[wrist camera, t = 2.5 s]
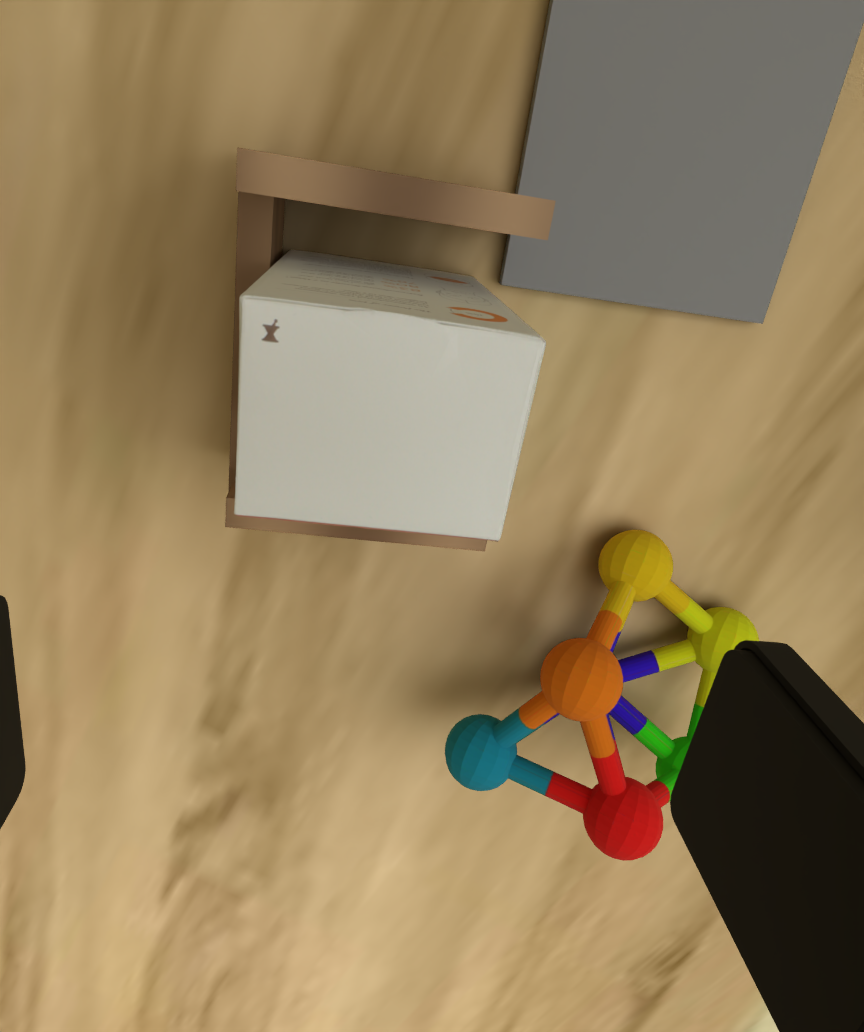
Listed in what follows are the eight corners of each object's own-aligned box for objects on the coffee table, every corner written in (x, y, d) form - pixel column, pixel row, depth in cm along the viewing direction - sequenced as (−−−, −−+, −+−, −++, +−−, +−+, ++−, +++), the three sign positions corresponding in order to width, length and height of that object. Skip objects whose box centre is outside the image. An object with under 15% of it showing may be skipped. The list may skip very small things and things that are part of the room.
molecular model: (527, 493, 38) (417, 752, 37) (626, 490, 29) (484, 836, 28) (734, 598, 43) (642, 835, 41) (876, 625, 34) (765, 931, 32)
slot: (514, 197, 29) (555, 200, 23) (463, 483, 34) (484, 551, 28) (256, 154, 28) (223, 144, 21) (243, 460, 33) (214, 525, 26)
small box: (277, 395, 32) (225, 519, 20) (287, 246, 29) (233, 287, 17) (454, 417, 33) (504, 547, 21) (479, 275, 30) (550, 332, 18)
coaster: (860, 5, 27) (870, 1, 27) (755, 321, 32) (762, 323, 32) (561, -61, 25) (565, -67, 25) (499, 283, 30) (501, 285, 30)
